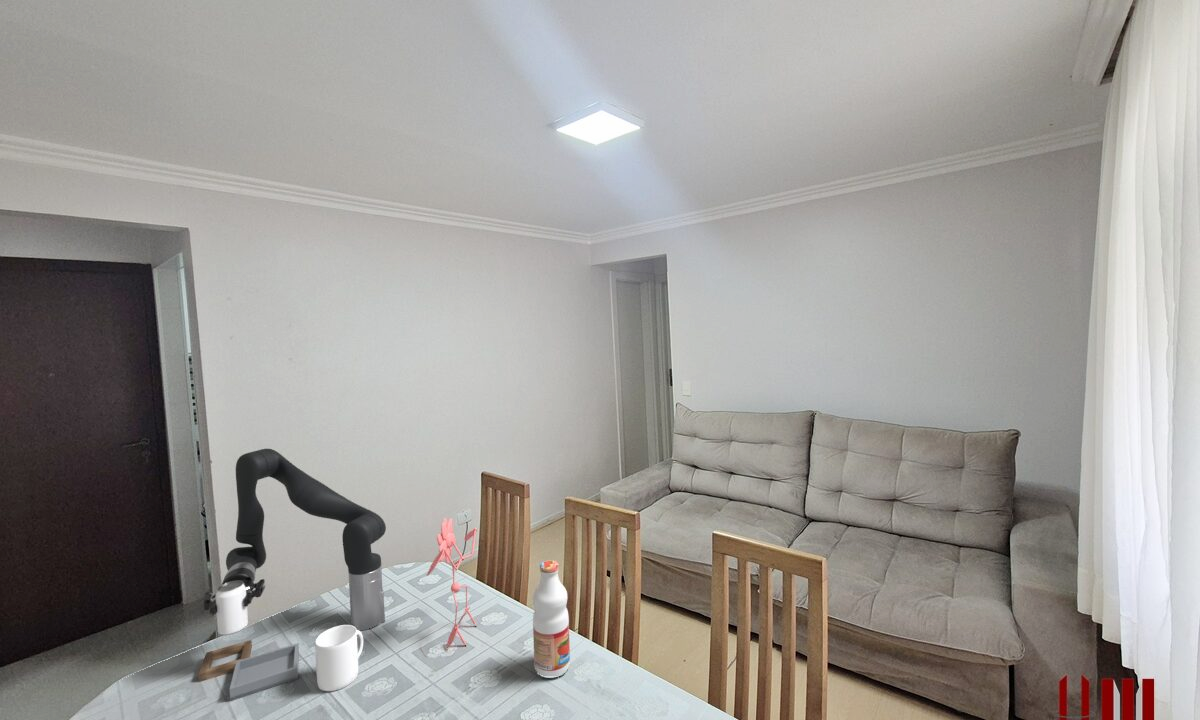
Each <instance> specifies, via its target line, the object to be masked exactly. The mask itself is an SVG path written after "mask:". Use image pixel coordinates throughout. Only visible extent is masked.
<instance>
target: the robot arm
mask: <svg viewBox="0 0 1200 720" xmlns="http://www.w3.org/2000/svg"><path fill="white" fill-rule="evenodd" d="M266 478H272V479H274V480H276V481H278V482H279V483H281V484H282V485H283V486H284V487H285V489H286V492H287V496H288V498H289V500H290V502H291V503H292V504H293V505H294V506H296V507H297V508H299V510H302V511H303V512H305V513H306V514H307V515H311V516H313V517H314V516H315V517H318V518H322V519H330V520H335V521H339V522H340V523H341V522H342V523H343V524H346V525H345V526H344V527H343V529H342V538H341V539H342V548H343V556H344V561H345V565H346V566H347V571H348V587H349V588H348V589H349V608H350V625H352V626H354V627H355V628H356V629H357V630H359V631H365V630H369V628H370V629H373V628H375V627H377V626H379V623H380V624H382V623H384V622H385V621H386V615H385V595H384V594H385V593H384V588H383V575H382V574H383V573H382V572H383V571H382V569H383V568H382V557H381V555H380V554H378V553H375V552H372V544H375V543H376V542H377V541H379V540H380V539H381V538H382V537H383V536H384V535H385V533H386V529H387V527H386V523H385V521H384V519H383V518H382V517H381V515H379V514H377V513H376V512H374V511H372V510H371V509H367V508H366V507H364V506H361V505H359V504H357V503H355V502H353V501H352V500H350V499H348V498H346V497H345V496H343V495H341V494H339V493H338V492H336V491H335V490H333V489H332V488H330V487H329V486H327V485H325V484H324V483H323V482H321V481H319V480H317V479H316V478H314V477H312V476H311V475H309V473H306V472H304V471H303V470H302V469H300V468H299V467H297V466H296V465H294V463H292V462H290V461H289V460H288V459H287V458H286V457H284V455H282V454H281V453H279V452H278V451H276V450H275V449H272V448H262V449H257V450H254V451H250V452H247V453H244V454H242V455H240V456H239V458H237V460H236V464H235V481H236V482H235V484H236V485H235V486H236V495H237V507H238V511H237V522H236V523H237V524H236V531H235V533H236V534H235V540H236V542H237V543H239V544H243V545H250V546H243V547H242V546H241V547H240V546H239V547H235V548H233V549H231V550H230V551H229V552H228V554H227V555H226V559H225V565H226V569H227V572H226V573H225V575H224V578H223V580H222V583H221V585H223V584H225V583H228V582H231V581H237V580H240V581H243V584H244V585H245V587H246V596H245V598H244V606H245V607H246V606H247V607H248V606H249V605H250V604H252V601H253V599H254V598H260V597H261V596H262V594H263V592H264V591H265V589H266V583H265V579H264V578H263V579H260V580H259V581H257V582H256V583H254V582H255V580H256V571H257V569H260V568H261V567H262V566H263V565H264V564H265V562H266V559H267V552H266V548H265V547H266V546H265V544H264V539H263V537H264V536H263V532H264V531H263V530H264V525H265V524H264V522H265V512H264V509H263V507H262V504H261V503H260V501H259V500H258V497H257V493H256V491H257V490H256V489H257V483H258V481H259V480H262V479H266ZM216 593H217V592H213V593H212V592H211V591H206V592H205V593H203V594H204V595H203V602H202V603H203V610H204V611H209V614H211V615H212V616H213V615H217V609H216ZM376 625H377V626H376ZM374 626H375V627H374ZM372 627H373V628H372Z"/></svg>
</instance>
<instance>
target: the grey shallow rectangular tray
mask: <svg viewBox="0 0 1200 720" xmlns="http://www.w3.org/2000/svg"><path fill="white" fill-rule="evenodd" d="M299 645H300V644H299V642H297V643H294V644H291V645H288V646H283V647H280V648H277V649H274V650H273V649H272V650H269V651H267V652H264V653H259V654H257V655H253V656H250V657H249V658H246V659H242V660H239V659H238V660H239V661H237V662H236V666H235V670H234V671H233V674H232V678H231V682H230V686H229V700H230V702H232V701H234V700H237V699H241V698H244V697H247V696H250V695H253V694H256V693H260V692H263V691H265V690H268V689H273V688H274V687H278V686H281V685H283V684H287V683H290V682H293V681H296V680H298V678H299V664H300V662H299V661H300V646H299Z"/></svg>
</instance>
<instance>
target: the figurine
mask: <svg viewBox="0 0 1200 720" xmlns="http://www.w3.org/2000/svg"><path fill="white" fill-rule="evenodd" d="M440 525H441V527H440V531H441V533H438V534H437V536H436V541H437V544H438V546H439V547H438V552H439V553H438V554H437V555H436V557H435V558H434V560H433V561H432V562H431V565H430V567H429V569H428V571H427V574H426V576H428V577H429V575H430V574H431V573H432V572H433V571H434V570H435V569H436V567H437V565H438V564H439V563H442V562H443V561H444V560H445V562H446V564H449V562H450V564H451V565H452V566H451V567H452V585H451V586H450V591H451V592H452V595H453V599H454V603H455V606H456V607H455V616H454V618H455V619H454V626H453V628H452V630H451V631H450V633H449V636H448V639H447V643H446V647H445V649H446V648H447V649H448V648H450V646H451V645H452V644H453V642H454V641H455V639H456V636H457V635H458V637H459V638H460V641H461V642H462V644H463V645H464V644H467V643H466V641H465V638H464V637H463V636H462V634H461V632H460V631H459V624H458V623H461V621H462V620H463V619H464V618H465V615H466V614H467V615H468V616H469V617H470V619H471V621H472V623H473V625H474V624H476V625H477V623H476V620H475V619H474V618H473V616H472V613H471V612H470V611H469V609H470V608H471V606H468V585H461V584H460V583H459V582H455V581H456V580H455V579H456V578H455V571H458V570H459V567H460V566H461V562H462V561H465V559H467V558H470V557H472V556H473V555H474V548H475V543H476V542H475V541H476V533H477V532H478V531H477V530H478V528H477V527H474V528H473V529H471V530H470V531H469V532H468V533H467V534H466V535H465V537H464V538H463V539H464V541H465V542H467V541H469V539H470V540H471V538H472V545H471V552H470V554H468V555H466V556H463V555H462V553H461V552H460V550H459V548H458V546H457V544H456V542H457V541H456V536H455V534H454V533H453V532H454V529H453V518H449V520H448V521H447V518H446V517H444V519H443V521H442V523H441V524H440ZM452 546H453V547H454V548H455V550H456V551H457V554H458V555H459V558H460V559H459V560H457V561H456V562H453V560H452V559H451V556H452ZM461 588H465V608H464V612H463V615H462V616H461V617H460V618H459V620H458V623H457V617H458V616H457V615H458V603H457V599H456V598H457V597H456V594H457V593H458V592H460V591H461ZM455 593H456V594H455Z"/></svg>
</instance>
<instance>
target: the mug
mask: <svg viewBox="0 0 1200 720" xmlns="http://www.w3.org/2000/svg"><path fill="white" fill-rule="evenodd" d="M358 636H359V642H360V644H359V649H358ZM363 648H364V636H363V633H362V631H361V630H357V629H356V628H355V627H354V626H352V625H351V624H341V625H335V626H332V627H330V628H328V629H326V630H324V631H323V632H320V634H319V635H317V637H316V638H315V640H314V649H315V650H314V651H315V653H314V654H315V667H316V668H315V669H316V682H317V688H318V689H319V690H320V691H325V692H334V691H335V692H336V691H339V690H341V689H344V688H346V687H347V686H348V685H350V684H351V683H353V681H354V680H356V679H357V676H358V675H359V657H360V656H361V654H362V652H363V650H364V649H363Z"/></svg>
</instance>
